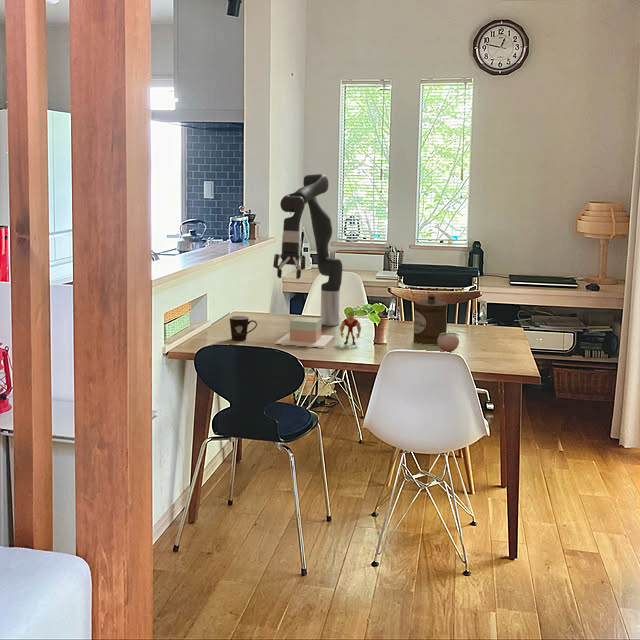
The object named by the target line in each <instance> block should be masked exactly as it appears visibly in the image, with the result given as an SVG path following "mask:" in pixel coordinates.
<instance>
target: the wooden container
mask: <svg viewBox="0 0 640 640" xmlns="http://www.w3.org/2000/svg"><path fill="white" fill-rule="evenodd" d="M413 317H414V319H413V342H414V343H416V342H417V343H416V344H419V343H422V344H421V345H424V344H438V342H437V341H438V338H439V335H440V334H441V333H447V330H448V329H447V328H448V327H447V325H448V320H447V319H448V318H447V317H448V303H447V302H446V301H442V300H437V299H436V295H435V294H434V293H429V294H428V295H427V299H424V300H423V299H422V300H415V302H414V316H413Z"/></svg>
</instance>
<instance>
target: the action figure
mask: <svg viewBox="0 0 640 640" xmlns="http://www.w3.org/2000/svg"><path fill="white" fill-rule="evenodd" d="M345 327H347V328H348V329H347V335H346V336H345V342H344V343H343V344H344V345H346V344H348V343H349V341H348V340H349V338H350V335H351V338H352V344H353V345H356V342H355V340H356V339H359V338H360V334H361V332H362V327H361V323H360V321H358V319H357V318H355V317H354V312H353V311H352V310H350V311H349V312H348V317H347V318H345V319H343V320H342V321H341V324H340V326H339V330H340V331H339V332H340V336H341V338H344V335H345V334H344V332H343V331H344V330H345ZM354 327H356V329H357V333H356V334H355V336H356V339H355V336H354V329H353V328H354Z"/></svg>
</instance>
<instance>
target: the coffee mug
mask: <svg viewBox="0 0 640 640" xmlns="http://www.w3.org/2000/svg"><path fill="white" fill-rule="evenodd" d="M252 322H253V323H255V326H254V327H253V328H252V329H250V330H249V331H248V326H249V325H250V323H252ZM229 325H230V336H231V340H232V341H234V342H245V341H246V340H247V336H248V334H249V333H251V332H253V331H254V330H255V329H256V328H257V326H258V323H257V321H256V320H253V319H251V320H249V316H246V315H245V316H244V315H233V316H230V317H229Z"/></svg>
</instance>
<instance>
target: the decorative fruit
mask: <svg viewBox="0 0 640 640" xmlns="http://www.w3.org/2000/svg"><path fill="white" fill-rule="evenodd" d="M459 335H460V334H458V333H456V332H446V333H441V334H440V335H439V338H438V341H437V342H438V345H437V346H438V348H440V350H442V352H444V351H447V352H449V353H451V352H454V351H455V350H457V348H458V346H459V345H460V339H459Z"/></svg>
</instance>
